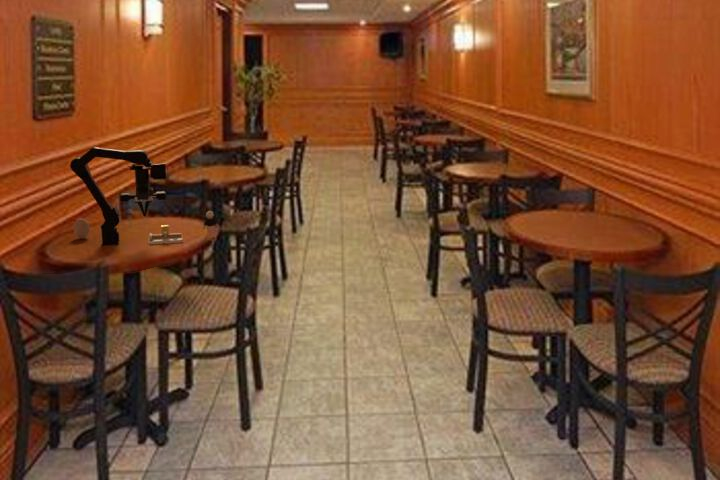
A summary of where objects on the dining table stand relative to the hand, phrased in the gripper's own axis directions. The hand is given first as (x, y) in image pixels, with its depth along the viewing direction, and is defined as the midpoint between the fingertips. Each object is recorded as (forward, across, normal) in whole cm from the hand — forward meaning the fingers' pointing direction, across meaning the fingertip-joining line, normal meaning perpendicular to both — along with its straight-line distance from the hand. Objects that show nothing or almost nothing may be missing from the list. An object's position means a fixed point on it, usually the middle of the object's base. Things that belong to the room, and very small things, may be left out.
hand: (144, 216), depth 327 cm
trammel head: (+9, +8, -2) cm, 12 cm away
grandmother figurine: (+11, +27, -4) cm, 30 cm away
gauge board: (+11, +8, -1) cm, 14 cm away
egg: (+11, -28, +14) cm, 33 cm away
